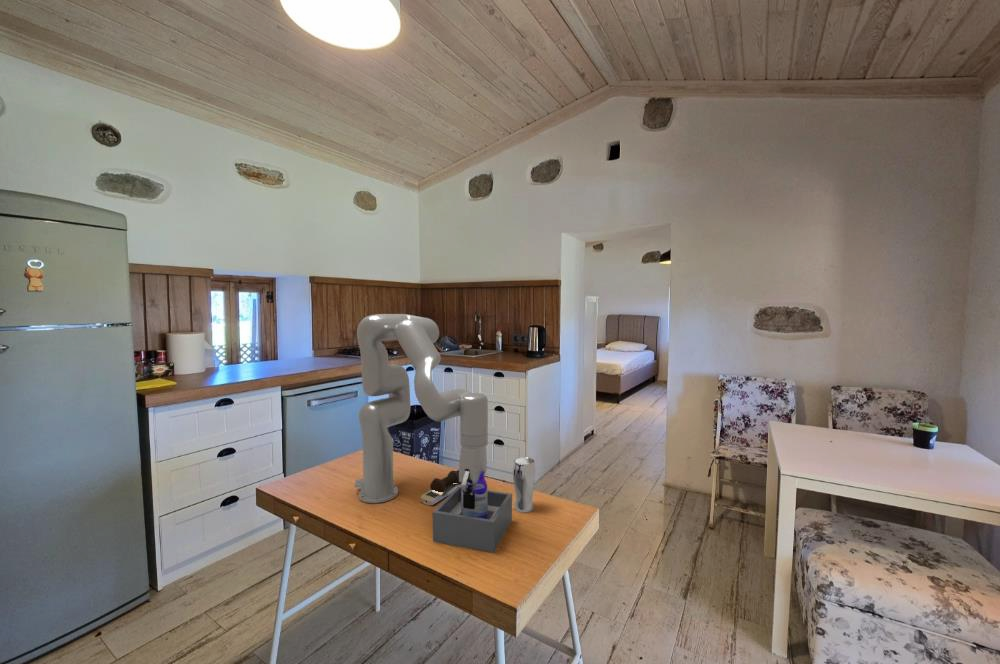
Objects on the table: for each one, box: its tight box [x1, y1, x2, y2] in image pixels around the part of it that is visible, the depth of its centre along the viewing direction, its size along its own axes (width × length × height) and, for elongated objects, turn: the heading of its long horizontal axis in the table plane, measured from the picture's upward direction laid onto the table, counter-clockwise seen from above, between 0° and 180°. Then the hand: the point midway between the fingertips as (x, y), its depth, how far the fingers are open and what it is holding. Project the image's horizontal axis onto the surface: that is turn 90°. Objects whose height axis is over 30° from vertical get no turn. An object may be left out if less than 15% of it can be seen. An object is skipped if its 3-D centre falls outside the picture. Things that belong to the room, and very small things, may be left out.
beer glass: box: [512, 456, 537, 514], centre depth 129 cm, size 7×7×15 cm
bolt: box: [429, 469, 460, 493], centre depth 145 cm, size 6×5×15 cm
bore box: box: [432, 485, 513, 554], centre depth 116 cm, size 17×17×8 cm
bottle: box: [461, 471, 488, 519], centre depth 116 cm, size 7×6×17 cm
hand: (474, 501), depth 116 cm, fingers closed on bottle, 6 cm apart
